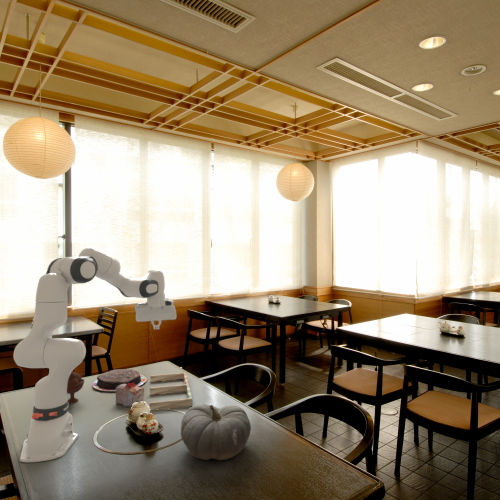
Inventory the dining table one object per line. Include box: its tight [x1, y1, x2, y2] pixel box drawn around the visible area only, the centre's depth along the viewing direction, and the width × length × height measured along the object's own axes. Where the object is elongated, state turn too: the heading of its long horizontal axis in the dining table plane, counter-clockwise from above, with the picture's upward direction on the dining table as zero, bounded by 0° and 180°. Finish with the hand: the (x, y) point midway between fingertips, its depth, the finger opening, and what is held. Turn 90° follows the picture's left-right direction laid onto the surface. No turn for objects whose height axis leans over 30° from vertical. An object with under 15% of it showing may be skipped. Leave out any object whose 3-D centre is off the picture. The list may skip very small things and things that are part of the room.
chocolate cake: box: [92, 368, 147, 393], centre depth 212 cm, size 28×28×7 cm
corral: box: [148, 371, 193, 411], centre depth 197 cm, size 40×19×4 cm, turn 14°
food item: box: [115, 383, 145, 408], centre depth 183 cm, size 14×8×10 cm, turn 64°
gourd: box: [180, 403, 252, 461], centre depth 141 cm, size 25×25×17 cm
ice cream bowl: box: [67, 370, 85, 405], centre depth 187 cm, size 11×11×15 cm
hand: (156, 329), depth 199 cm, fingers closed
